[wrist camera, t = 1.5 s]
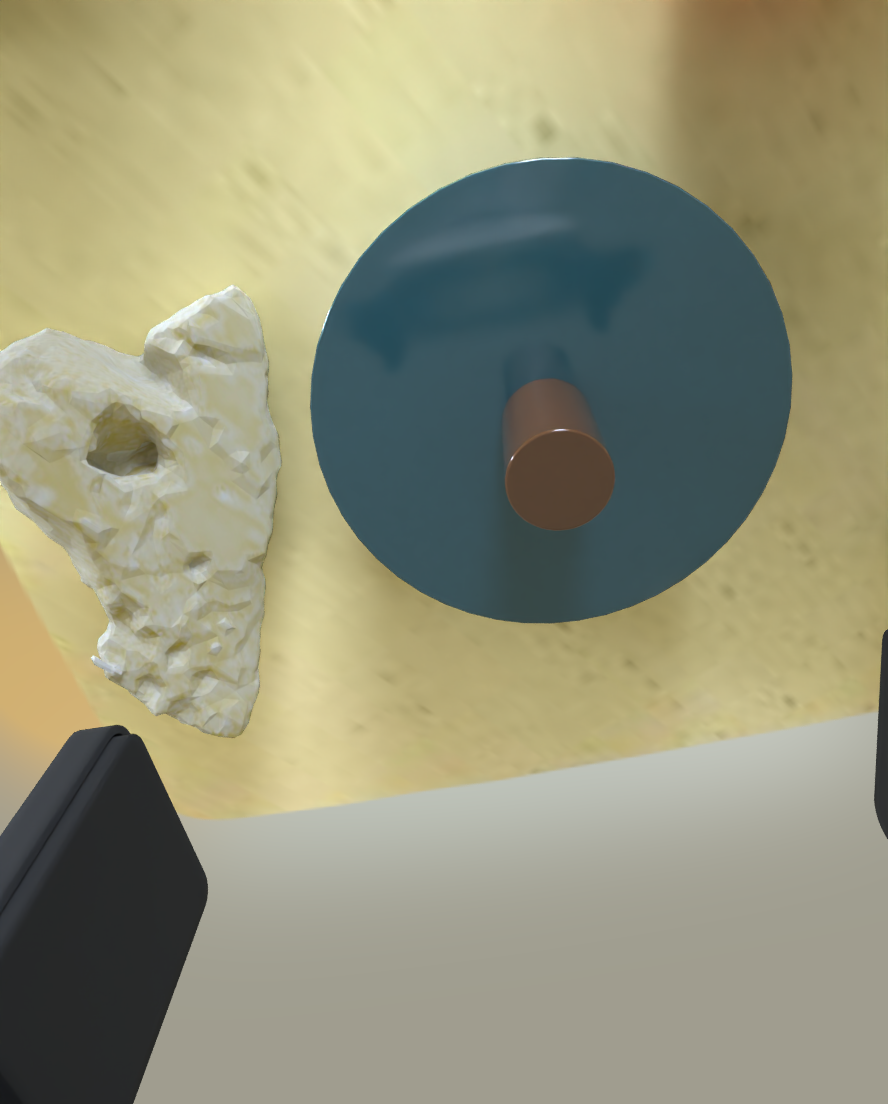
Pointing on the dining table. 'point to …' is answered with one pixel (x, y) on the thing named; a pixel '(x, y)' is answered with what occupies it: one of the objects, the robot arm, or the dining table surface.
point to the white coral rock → (156, 496)
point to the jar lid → (551, 390)
